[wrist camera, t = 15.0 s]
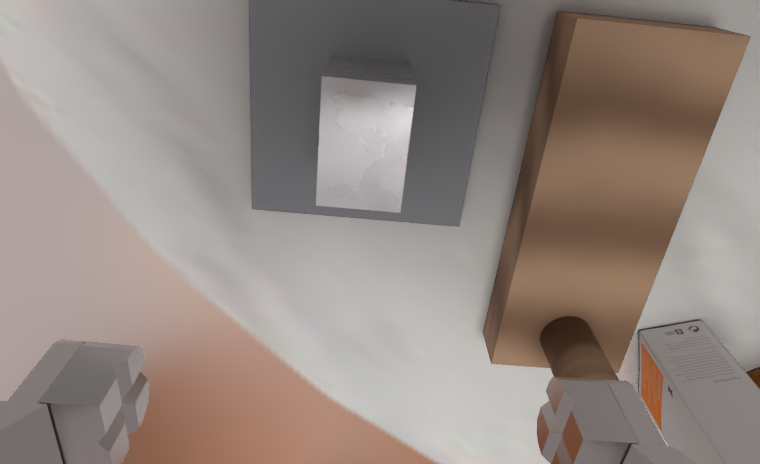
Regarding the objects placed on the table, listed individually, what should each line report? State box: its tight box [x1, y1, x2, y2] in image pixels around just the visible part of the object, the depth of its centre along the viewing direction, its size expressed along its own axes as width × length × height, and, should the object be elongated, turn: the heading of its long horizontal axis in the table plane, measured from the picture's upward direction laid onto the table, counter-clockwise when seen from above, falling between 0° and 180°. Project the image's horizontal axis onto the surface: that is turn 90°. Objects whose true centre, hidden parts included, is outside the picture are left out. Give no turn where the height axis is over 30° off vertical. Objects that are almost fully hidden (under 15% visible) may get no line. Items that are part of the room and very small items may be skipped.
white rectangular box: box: [316, 55, 416, 213], centre depth 26 cm, size 6×4×5 cm, turn 174°
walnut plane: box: [483, 11, 751, 381], centre depth 28 cm, size 20×8×8 cm, turn 175°
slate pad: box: [249, 0, 500, 227], centre depth 29 cm, size 12×12×1 cm
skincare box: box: [639, 321, 760, 464], centre depth 32 cm, size 6×4×12 cm
